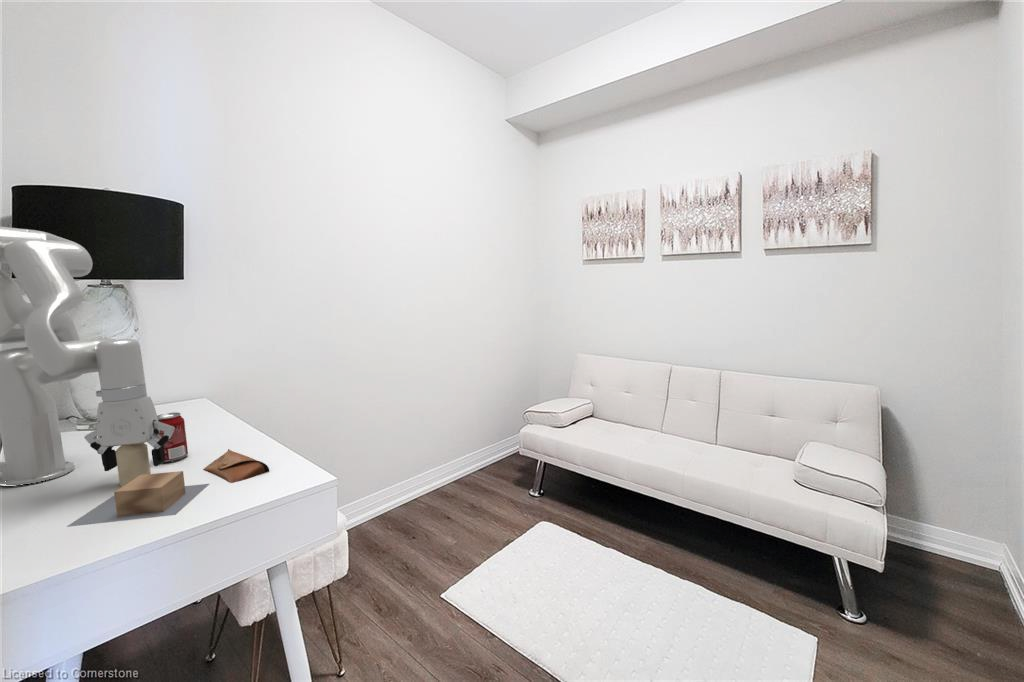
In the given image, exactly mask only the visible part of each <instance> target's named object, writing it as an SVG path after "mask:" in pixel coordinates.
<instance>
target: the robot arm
mask: <svg viewBox="0 0 1024 682" xmlns="http://www.w3.org/2000/svg"><path fill="white" fill-rule="evenodd" d="M0 264H7V266H8V267H9V269H10V271H11V272H12V274H13V275H14V277H15V279H16V280H17V282H18V283H17V282H16V281H15V280H14V279H13V278H12V277H11V276H10V275H9V274H7V273H6V272H5V271H4V270H2V269H0V345H8V344H10V345H11V344H23V343H25V344H26V346H25V347H23V346H21V347H14V348H8V349H7V348H6V349H2V350H0V439H1V444H2V449H3V450H2V451H3V458H4V461H0V473H1V477H0V484H6V485H21V484H29V483H34V484H37V483H36V482H38V483H42V482H41V481H43V482H45V480H46V481H49V479H50V480H53V479H56V478H58V477H61V476H65V475H66V474H68V472H69V473H70V472H72V471H73V470H74V469H75V464H74V462H71V461H65V460H66V459H65V453H64V447H63V441H62V435H61V434H62V433H61V427H60V421H59V414H58V413H59V412H58V408H57V403H56V401H55V399H54V397H53V396H52V395H51V394H50V393H49V392H47V391H46V390H44V388H42V387H41V386H43V385H44V386H45V385H48V384H55V383H59V382H63V381H64V382H65V381H70V380H74V379H77V378H79V377H81V376H82V375H84V374H91V373H98V378H99V384H100V390H96V392H95V396H96V397H100V398H101V400H102V401H101V402H99V403H98V405H97V411H96V412H97V414H96V429H95V430H93V431H91V432H89V433H88V434H85V435H84V439H85V441H86V442H87V443H88V444H89V446H90V448H91V449H93V450H94V451H96V452H97V454H98V455H100V456H101V461H102V467H103V469H104V472H109V471H110V470H113V469H114V468H116V467H117V459H116V452H115V451H116V450H115V448H114V447H120V446H122V445H132V444H141V443H145V444H148V445H150V446H151V447H152V449H151V458H152V464H153V466H154V467H158V466H159V465H162V464H163V462H164V461H165V450H164V445H165V444H166V443H167V442H168V441H169V440H170V438H171V436H172V434H173V432H174V429H175V427H173V426H170V425H167V424H164V423H161V422H158V418H157V415H158V414H157V409H156V408H155V405H154V402H153V400H152V397H151V396H148V393H147V385H146V379H145V373H144V372H145V371H144V364H143V357H142V351H141V344H140V342H139V341H138V340H136V339H134V338H120V339H119V338H118V339H117V338H116V339H115V338H110V337H103V338H101V337H100V338H94V339H93V338H91V339H80V337H79V334H78V333H79V332H78V331H77V328H76V324H75V322H74V320H73V318H72V315H70V313H69V311H72V310H74V309H75V308H77V307H78V306H79V305H81V304H82V303H83V302H84V299H85V298H84V297H85V296H84V294H83V292H82V290H81V288H80V287H79V285H78V283H77V282H76V280H75V279H74V278H81V277H84V276H87V275H89V273H91V271H92V270H93V264H94V263H93V259H92V257H91V255H90V253H89V252H88V250H87V249H86V248H85V247H84V246H82V245H81V244H79V243H77V242H75V241H72V240H69V239H66V238H63V237H61V236H57V235H55V234H52V233H50V232H47V231H46V232H45V231H41V230H36V229H27V228H17V227H8V226H0ZM19 285H20V286H19ZM20 287H21V288H20ZM21 289H22V290H23V292H24V294H25V296H26V297H27V298H28V300H29V302H27V301H26V300H25V299H24V297H23V294H22V292H21ZM160 430H162V431H164V436H163V437H162V438H161V437H160V436H159V434H160ZM113 448H114V449H113ZM5 481H6V482H5ZM29 485H30V484H29Z"/></svg>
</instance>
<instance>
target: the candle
mask: <svg viewBox="0 0 1024 682" xmlns="http://www.w3.org/2000/svg"><path fill="white" fill-rule="evenodd" d="M115 452H116V459H117V466H116V467H117V474H118V481H119V486H121V487H123V486H124V485H126V484H127V483H129V482H130V481H132V480H133V479H135V478H136V477H138V476H139V475H145V474H152V473H151V466H150V457H149V450H148V445H147V443H146V442H145V443H141V444H132V445H122V446H118V448H117V449H116V450H115Z"/></svg>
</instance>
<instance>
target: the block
mask: <svg viewBox="0 0 1024 682" xmlns="http://www.w3.org/2000/svg"><path fill="white" fill-rule="evenodd" d="M185 486H186V484H185V476H184V471H183V470H179V471H170V472H169V471H168V472H158V473H151V474H145V475H139V476H138V477H136V478H135V479H133V480H132V481H130V482H129V483H127V484H126V485H124V486H121V487H120V488H118V489H116V490H115V491H114V492H113V494H114V495H115V503H116V510H117V516H126V515H135V514H144V513H153V512H163V511H165V510H166V509H167V508H169V507H170V506H171V505H172V504H173V503H175V502H176V501H177V500H178V499H179V498H180V497H182V496H183V495H184V494H185V493H186V492H185ZM114 495H113V496H114Z"/></svg>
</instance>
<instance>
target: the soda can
mask: <svg viewBox="0 0 1024 682" xmlns="http://www.w3.org/2000/svg"><path fill="white" fill-rule="evenodd" d="M157 418H158V422H161V423H164V424H167V425H170V426H173V427H175V429H174V432H173V434H172V436H171V438H170V440H169V441H168V442H167V443H166V444H165V445H164V450H165V461H164V462H163V463H164V464H165V463H167V464H169V463H174V462H178V461H181V460H183V459H184V458H185V457H186V456H188V454H189V451H188V450H189V449H188V441H187V433H186V432H187V431H186V424H185V423H186V422H185V418H183V417H182V415H181V412H178V411H176V412H167V413H161V414H157ZM159 436H160V437H161V438H162V437H163V436H164V431H162V430H160V434H159ZM168 462H169V463H168ZM163 463H162V464H163Z"/></svg>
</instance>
